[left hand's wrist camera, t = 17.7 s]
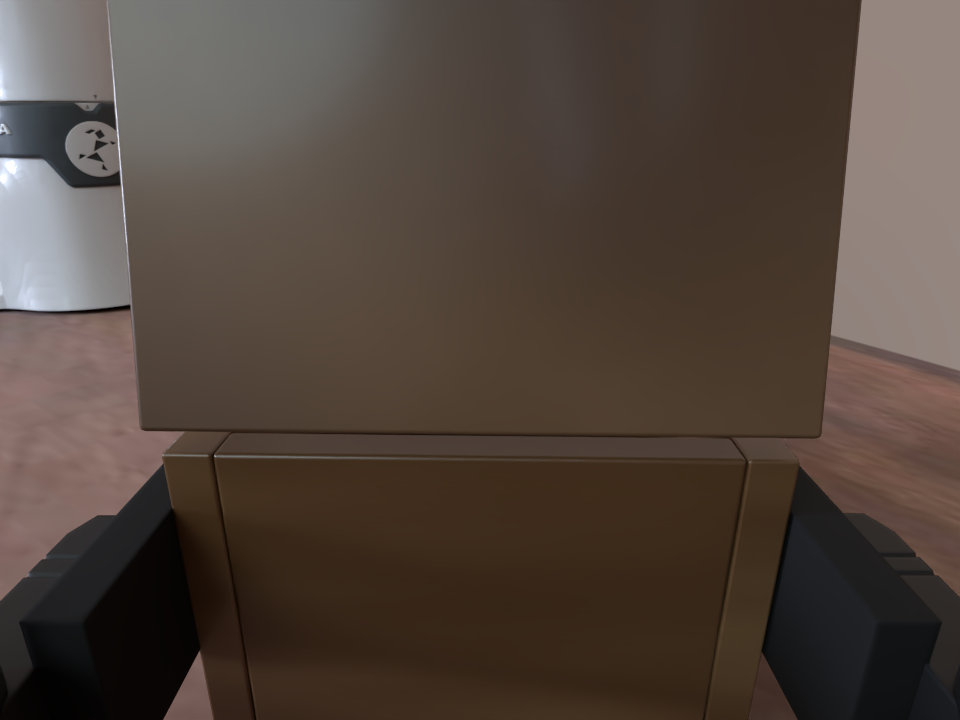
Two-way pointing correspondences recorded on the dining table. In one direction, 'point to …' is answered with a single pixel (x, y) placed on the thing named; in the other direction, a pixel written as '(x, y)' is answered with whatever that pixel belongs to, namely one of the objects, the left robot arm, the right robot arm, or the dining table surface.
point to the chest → (479, 573)
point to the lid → (483, 213)
